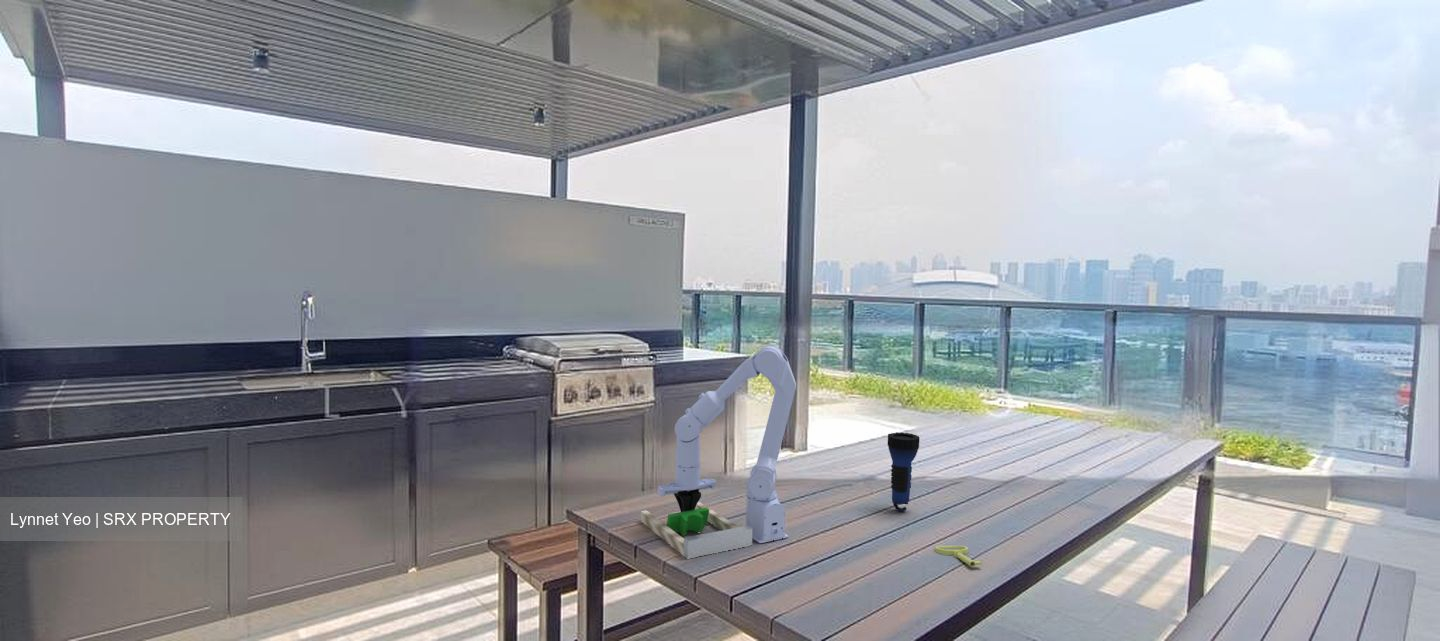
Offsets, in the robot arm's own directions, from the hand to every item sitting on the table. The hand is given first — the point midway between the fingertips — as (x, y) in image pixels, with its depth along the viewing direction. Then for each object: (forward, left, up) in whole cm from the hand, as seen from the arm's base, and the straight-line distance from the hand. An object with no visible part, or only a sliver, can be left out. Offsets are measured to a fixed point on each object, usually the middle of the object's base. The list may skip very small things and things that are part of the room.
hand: (686, 521), depth 154 cm
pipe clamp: (-2, +1, -1) cm, 3 cm away
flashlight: (-15, -55, -2) cm, 57 cm away
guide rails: (-2, 0, -2) cm, 3 cm away
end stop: (-15, 0, -2) cm, 15 cm away
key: (-42, -45, -2) cm, 61 cm away
